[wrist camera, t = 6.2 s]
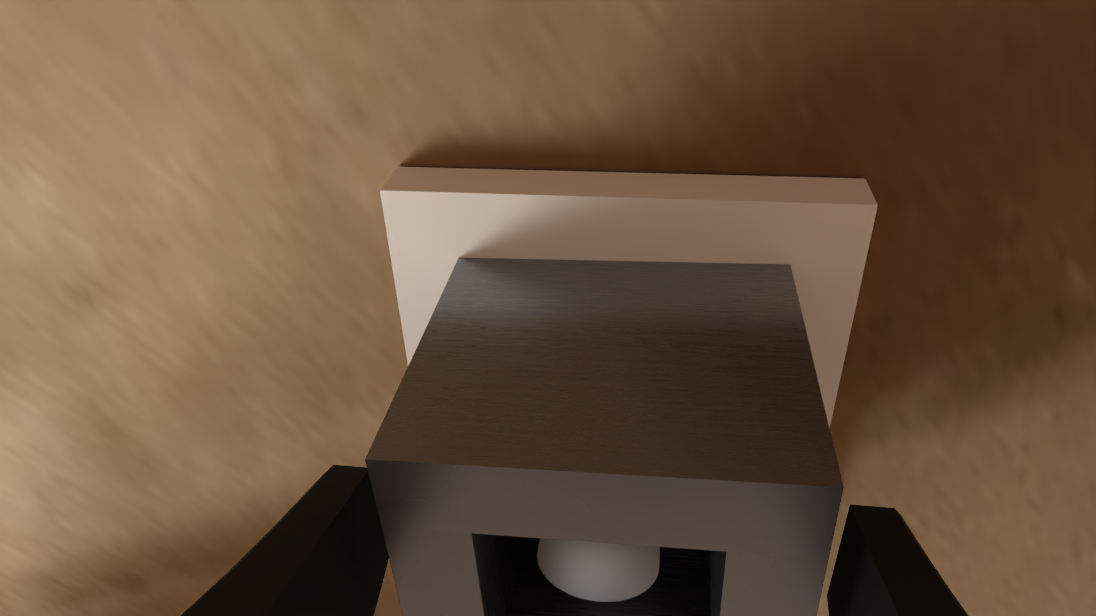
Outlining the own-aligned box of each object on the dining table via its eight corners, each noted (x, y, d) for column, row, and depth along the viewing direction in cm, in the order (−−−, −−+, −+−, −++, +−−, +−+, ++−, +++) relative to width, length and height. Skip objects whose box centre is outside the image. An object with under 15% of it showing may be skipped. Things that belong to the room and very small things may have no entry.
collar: (759, 504, 16) (787, 753, 12) (488, 487, 17) (427, 715, 13) (790, 264, 13) (843, 487, 9) (458, 257, 14) (365, 459, 10)
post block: (797, 514, 17) (834, 741, 13) (443, 486, 18) (376, 689, 14) (865, 178, 13) (952, 360, 9) (397, 166, 14) (281, 324, 10)
